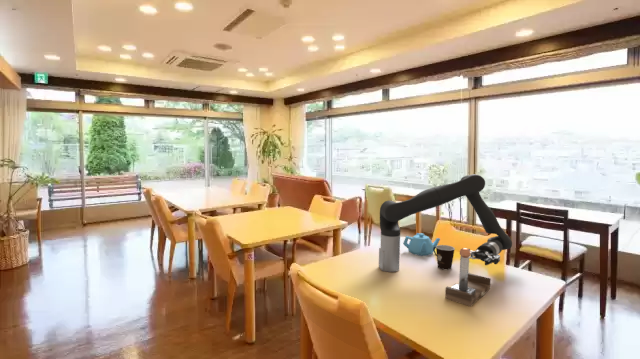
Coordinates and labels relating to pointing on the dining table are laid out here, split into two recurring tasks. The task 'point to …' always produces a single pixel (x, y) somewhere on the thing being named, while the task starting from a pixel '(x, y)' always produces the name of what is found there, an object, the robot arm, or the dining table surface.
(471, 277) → the base
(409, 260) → the dining table surface
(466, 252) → the handle
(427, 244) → the teapot
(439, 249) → the coffee mug
